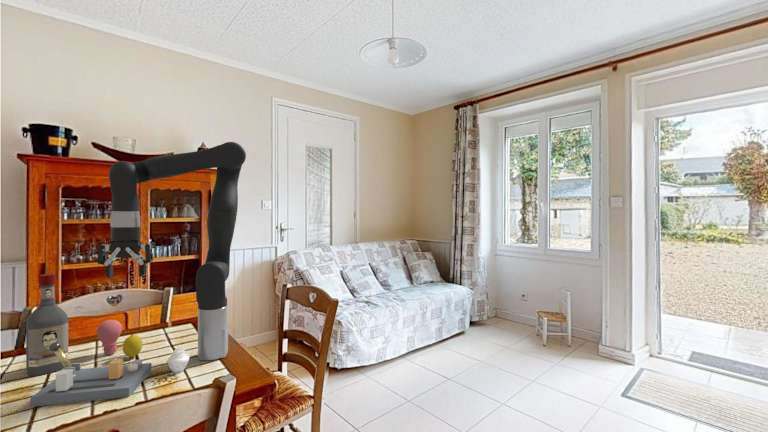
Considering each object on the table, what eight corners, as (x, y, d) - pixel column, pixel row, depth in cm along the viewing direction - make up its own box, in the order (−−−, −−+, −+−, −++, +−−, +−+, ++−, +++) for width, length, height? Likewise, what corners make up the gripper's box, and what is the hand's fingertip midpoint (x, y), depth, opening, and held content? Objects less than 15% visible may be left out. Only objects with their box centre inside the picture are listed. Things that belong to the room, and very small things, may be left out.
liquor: (25, 369, 111) (25, 274, 111) (64, 360, 118) (64, 271, 118) (28, 378, 105) (28, 278, 105) (69, 368, 112) (69, 274, 112)
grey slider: (73, 385, 96) (73, 368, 96) (66, 390, 94) (66, 373, 93) (62, 386, 96) (62, 369, 96) (55, 391, 93) (55, 374, 93)
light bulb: (91, 356, 122) (91, 321, 122) (114, 348, 128) (114, 316, 128) (104, 359, 119) (104, 324, 119) (126, 352, 126) (126, 318, 126)
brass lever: (77, 364, 106) (60, 339, 105) (72, 368, 104) (54, 342, 102) (68, 369, 106) (50, 344, 104) (63, 373, 103) (44, 347, 102)
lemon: (132, 361, 118) (132, 337, 118) (118, 360, 119) (118, 336, 119) (146, 355, 123) (146, 332, 123) (133, 353, 125) (133, 331, 124)
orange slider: (123, 374, 103) (123, 358, 103) (118, 378, 100) (118, 362, 100) (113, 374, 103) (113, 359, 102) (108, 379, 100) (108, 363, 100)
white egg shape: (168, 368, 114) (168, 346, 114) (190, 364, 116) (190, 343, 116) (165, 376, 108) (165, 353, 108) (188, 372, 111) (188, 350, 111)
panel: (151, 370, 112) (151, 356, 112) (129, 396, 96) (129, 380, 96) (68, 378, 106) (68, 363, 106) (30, 406, 91) (30, 389, 91)
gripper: (155, 225, 116) (155, 274, 117) (105, 225, 113) (105, 275, 113) (147, 226, 109) (147, 278, 109) (92, 226, 105) (92, 280, 106)
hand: (125, 277), depth 111 cm, fingers open, 8 cm apart
